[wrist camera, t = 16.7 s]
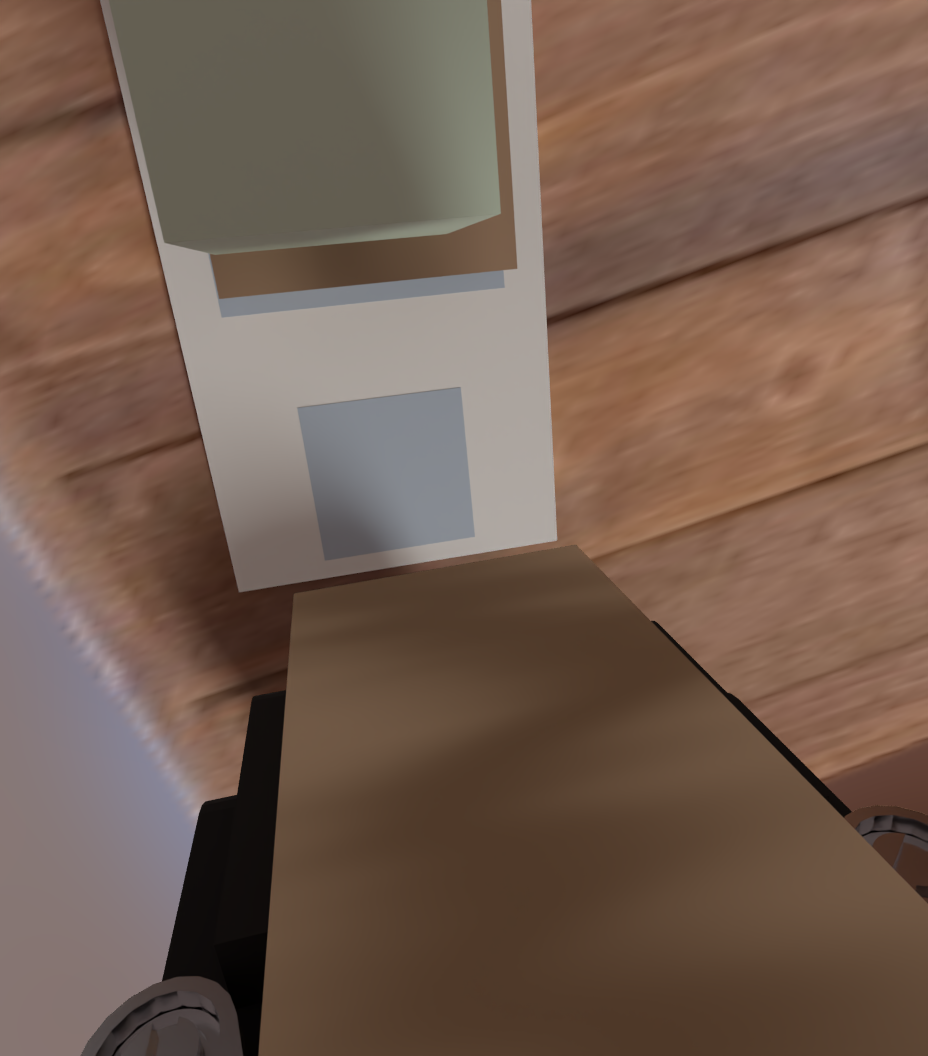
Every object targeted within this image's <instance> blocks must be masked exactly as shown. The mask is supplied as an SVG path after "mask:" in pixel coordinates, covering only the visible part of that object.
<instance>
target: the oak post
mask: <svg viewBox="0 0 928 1056" xmlns="http://www.w3.org/2000/svg"><path fill="white" fill-rule="evenodd" d="M258 1056H928V903H927V902H926V901H925V900H924V899H923V898H922V897H921V896H920V895H919V894H918V893H917V892H916V891H915V890H914V889H913V888H912V887H911V886H910V885H909V884H908V883H907V882H906V881H905V880H904V879H903V878H902V877H901V876H900V875H899V874H898V873H897V872H896V871H895V870H894V869H893V868H892V867H891V866H890V865H889V864H888V863H887V862H886V861H885V860H884V858H883V857H882V856H881V855H880V854H879V853H878V852H877V851H876V850H875V849H874V848H873V847H872V846H871V845H870V844H869V843H868V842H867V841H866V840H865V839H864V838H863V837H862V836H861V835H860V834H859V833H858V832H857V831H856V830H855V829H854V828H853V827H852V826H851V825H850V824H849V823H848V822H847V821H846V820H845V819H844V818H843V817H842V816H841V815H840V814H839V813H838V812H837V811H836V810H835V809H834V807H833V806H832V805H831V804H830V803H829V802H828V801H827V800H826V799H825V798H824V797H823V796H822V795H821V794H820V793H819V792H818V791H817V790H816V789H815V788H814V787H813V786H812V785H811V784H810V783H809V782H808V781H807V780H806V779H805V778H804V777H803V776H802V775H801V774H800V773H799V772H798V771H797V770H796V769H795V768H794V767H793V766H792V765H791V764H790V763H789V762H788V761H787V760H786V759H785V758H784V756H783V755H782V754H781V753H780V752H779V751H778V750H777V749H776V748H775V747H774V746H773V745H772V744H771V743H770V742H769V741H768V740H767V739H766V738H765V737H764V736H763V735H762V734H761V733H760V732H759V731H758V730H757V729H756V728H755V727H754V726H753V725H752V724H751V723H750V722H749V721H748V720H747V719H746V718H745V717H744V716H743V715H742V714H741V713H740V712H739V711H738V710H737V709H736V708H735V707H734V706H733V704H732V703H731V702H730V701H729V700H728V699H727V698H726V697H725V696H724V695H723V694H722V693H721V692H720V691H719V690H718V689H717V688H716V687H715V686H714V685H713V684H712V683H711V682H710V681H709V680H708V679H707V678H706V677H705V676H704V675H703V674H702V673H701V672H700V671H699V670H698V669H697V668H696V667H695V666H694V665H693V664H692V663H691V662H690V661H689V660H688V659H687V658H686V657H685V656H684V655H683V653H682V652H681V651H680V650H679V649H678V648H677V647H676V646H675V645H674V644H673V643H672V642H671V641H670V640H669V639H668V638H667V637H666V636H665V635H664V634H663V633H662V632H661V631H660V630H659V629H658V628H657V627H656V626H655V625H654V624H653V623H652V622H651V621H650V620H649V619H648V618H647V617H646V616H645V615H644V614H643V613H642V612H641V611H640V610H639V609H638V608H637V607H636V606H635V605H634V604H633V602H632V601H631V600H630V599H629V598H628V597H627V596H626V595H625V594H624V593H623V592H622V591H621V590H620V589H619V588H618V587H617V586H616V585H615V584H614V583H613V582H612V581H611V580H610V579H609V578H608V577H607V576H606V575H605V574H604V573H603V572H602V571H601V570H600V569H599V568H598V567H597V566H596V565H595V564H594V563H593V562H592V561H591V560H590V559H589V558H588V557H587V556H586V555H585V554H584V553H583V552H582V550H581V549H580V548H579V547H578V546H577V545H571V546H565V547H560V548H554V549H548V550H542V551H537V552H531V553H525V554H519V555H513V556H508V557H502V558H496V559H490V560H484V561H479V562H473V563H467V564H461V565H456V566H450V567H444V568H438V569H432V570H427V571H421V572H415V573H409V574H403V575H398V576H392V577H386V578H380V579H375V580H369V581H363V582H357V583H351V584H346V585H340V586H334V587H328V588H323V589H317V590H311V591H305V592H299V593H294V596H293V609H292V622H291V635H290V649H289V662H288V675H287V688H286V701H285V714H284V727H283V740H282V753H281V766H280V779H279V792H278V805H277V819H276V832H275V845H274V858H273V871H272V884H271V897H270V910H269V923H268V936H267V949H266V962H265V975H264V988H263V1002H262V1015H261V1028H260V1041H259V1054H258Z"/></svg>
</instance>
